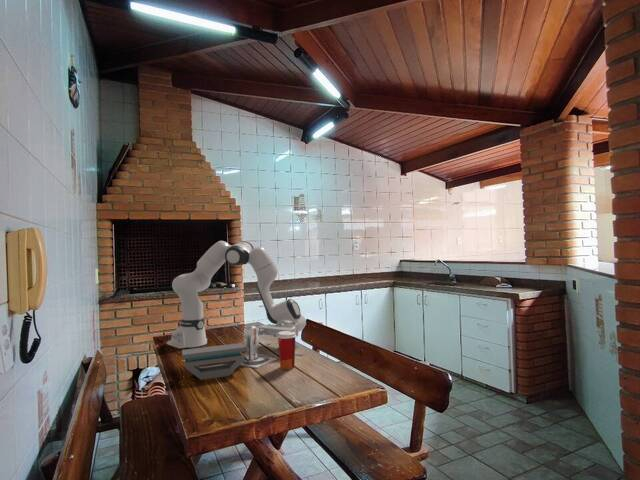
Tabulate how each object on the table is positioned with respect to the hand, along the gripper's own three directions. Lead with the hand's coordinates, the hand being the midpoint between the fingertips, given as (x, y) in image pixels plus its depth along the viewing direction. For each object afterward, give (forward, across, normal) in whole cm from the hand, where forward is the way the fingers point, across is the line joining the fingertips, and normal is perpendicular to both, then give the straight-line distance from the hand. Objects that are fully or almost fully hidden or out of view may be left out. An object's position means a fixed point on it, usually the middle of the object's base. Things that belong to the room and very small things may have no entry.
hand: (267, 334), depth 183 cm
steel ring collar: (+9, 0, +11) cm, 14 cm away
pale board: (+9, 0, +11) cm, 14 cm away
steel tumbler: (+9, -2, +10) cm, 14 cm away
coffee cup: (+9, +18, +11) cm, 23 cm away
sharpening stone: (+30, -4, +11) cm, 32 cm away
